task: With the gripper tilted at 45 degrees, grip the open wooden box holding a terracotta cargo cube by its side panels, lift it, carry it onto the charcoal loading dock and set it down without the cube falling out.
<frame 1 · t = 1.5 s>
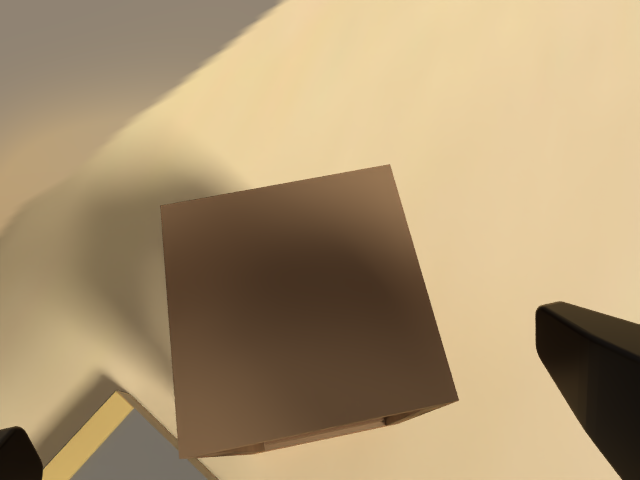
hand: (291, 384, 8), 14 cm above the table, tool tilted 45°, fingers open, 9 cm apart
open wooden box: (312, 365, 22), on the table, touching cargo
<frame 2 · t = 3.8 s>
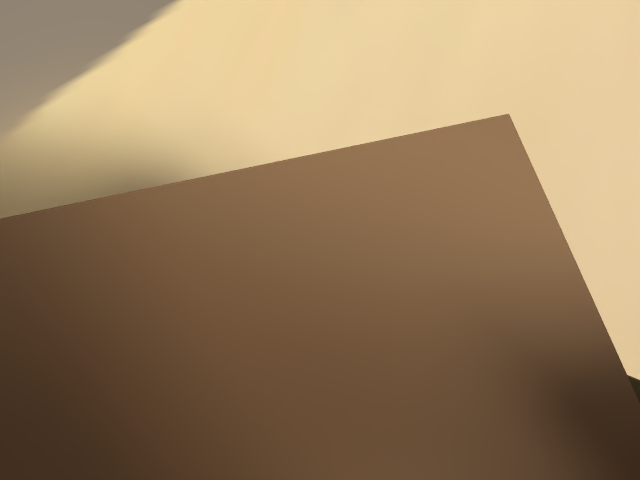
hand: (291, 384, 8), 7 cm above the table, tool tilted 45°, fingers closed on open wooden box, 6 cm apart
open wooden box: (320, 459, 14), on the table, touching cargo, gripper
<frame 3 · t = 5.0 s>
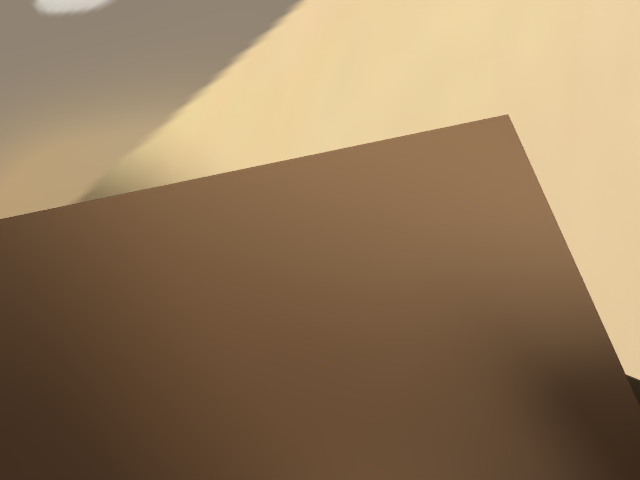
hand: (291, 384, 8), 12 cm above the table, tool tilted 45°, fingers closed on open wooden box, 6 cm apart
open wooden box: (320, 459, 14), point 5 cm above the table, touching cargo, gripper
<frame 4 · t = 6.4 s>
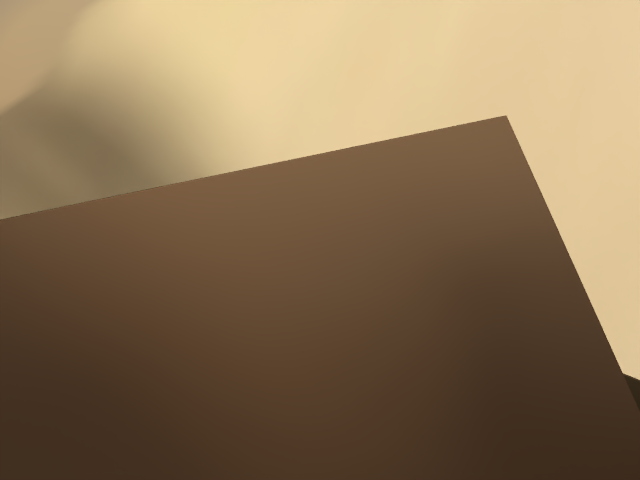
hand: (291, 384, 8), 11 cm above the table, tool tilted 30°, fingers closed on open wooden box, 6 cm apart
open wooden box: (320, 460, 14), point 4 cm above the table, tilted 14°, touching cargo, gripper
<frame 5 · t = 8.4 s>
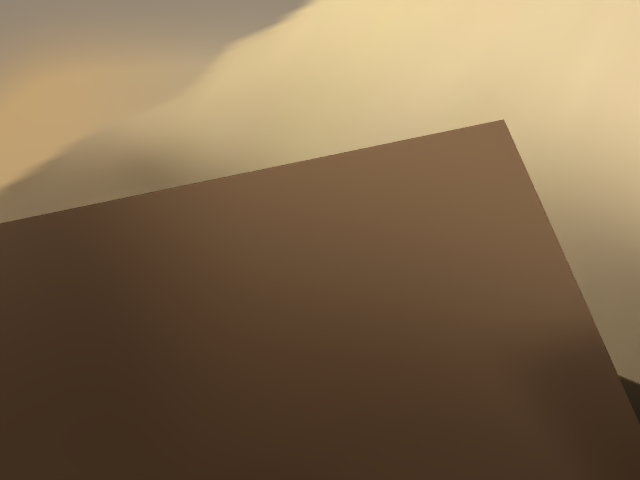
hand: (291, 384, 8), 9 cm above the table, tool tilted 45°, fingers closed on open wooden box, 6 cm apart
open wooden box: (320, 461, 14), point 2 cm above the table, touching cargo, gripper
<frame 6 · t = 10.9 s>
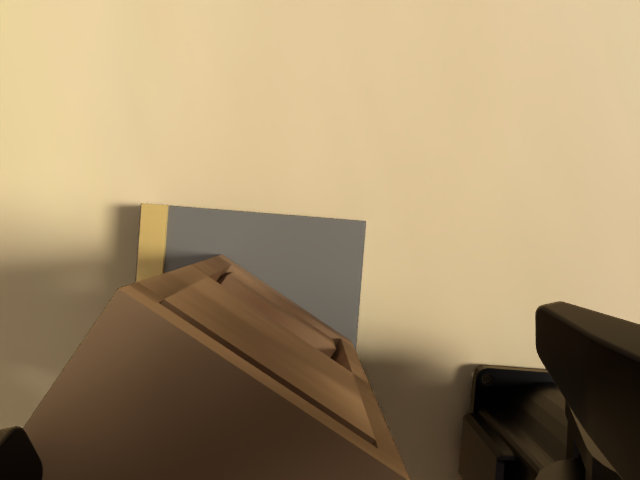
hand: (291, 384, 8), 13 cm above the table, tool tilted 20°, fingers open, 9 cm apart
open wooden box: (243, 362, 20), point 2 cm above the table, touching cargo, dock
dock: (247, 352, 21), on the table
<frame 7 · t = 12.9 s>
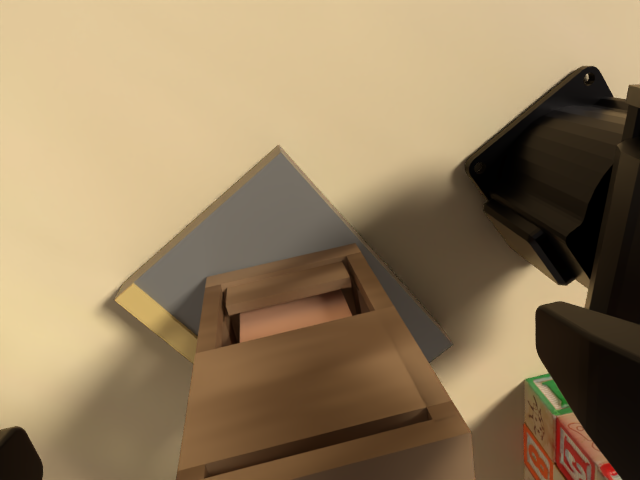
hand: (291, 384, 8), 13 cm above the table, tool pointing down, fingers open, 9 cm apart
open wooden box: (296, 324, 21), point 2 cm above the table, touching cargo, dock
dock: (292, 306, 23), on the table
cargo: (299, 336, 20), point 3 cm above the table, touching open wooden box
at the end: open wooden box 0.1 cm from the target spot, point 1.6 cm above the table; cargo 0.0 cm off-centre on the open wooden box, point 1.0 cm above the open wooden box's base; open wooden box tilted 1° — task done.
